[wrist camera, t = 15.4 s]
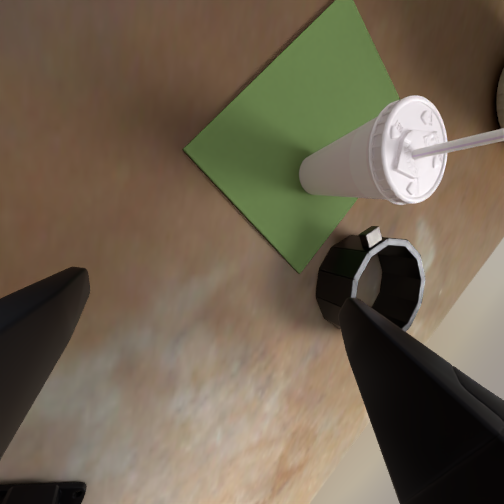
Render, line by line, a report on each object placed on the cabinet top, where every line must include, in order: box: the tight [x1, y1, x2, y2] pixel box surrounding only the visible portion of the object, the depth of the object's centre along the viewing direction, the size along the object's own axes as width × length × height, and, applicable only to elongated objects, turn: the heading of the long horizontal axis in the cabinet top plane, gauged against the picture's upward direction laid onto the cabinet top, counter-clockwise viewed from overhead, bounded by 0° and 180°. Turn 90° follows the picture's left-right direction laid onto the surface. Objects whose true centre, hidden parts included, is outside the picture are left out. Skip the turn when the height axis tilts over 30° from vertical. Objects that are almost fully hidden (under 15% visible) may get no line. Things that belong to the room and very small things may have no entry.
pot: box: [316, 226, 425, 332], centre depth 26 cm, size 10×13×4 cm
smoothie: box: [299, 95, 504, 205], centre depth 18 cm, size 6×6×14 cm
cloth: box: [183, 0, 400, 274], centre depth 24 cm, size 22×15×1 cm
